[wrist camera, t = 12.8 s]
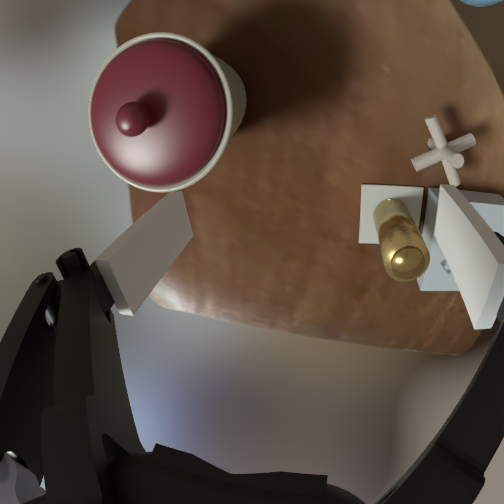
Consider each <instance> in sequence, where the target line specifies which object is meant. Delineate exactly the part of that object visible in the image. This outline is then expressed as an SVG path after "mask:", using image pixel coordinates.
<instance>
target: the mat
mask: <svg viewBox="0 0 504 504" xmlns="http://www.w3.org/2000/svg"><path fill="white" fill-rule="evenodd" d="M423 189H424V188H423V187H416V186H399V185H378V184H361V212H360V231H359V243H377V244H379V240H378V236H377V232H376V228H375V224H374V220H373V212H374V210H375V208H376V206H377V205H378V204H379V203H380V202H381V201H383V200H385V199H389V198H395V199H398V200H401V201H402V202H403V203H404V204H405V205H406V206H407V208H408V210H409V212H410V214H411V216H412V218H413V220H414V222H415V224H416V226H417V228H419V222H420V214H421V207H422V198H423Z"/></svg>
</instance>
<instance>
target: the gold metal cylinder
mask: <svg viewBox="0 0 504 504" xmlns="http://www.w3.org/2000/svg"><path fill="white" fill-rule="evenodd" d="M373 220H374V224H375V228H376V232H377V236H378V240H379V244H380V248H381V253H382V257H383V262H384V266H385V270H386V272H387V274H388V275H389V276H390V277H391V278H393V279H394V280H397V281H401V282H407V281H412V280H415V279H417V278H418V277H420V276H421V275H422V274H423V273H424V272H425V271H426V270H427V268H428V266H429V263H430V253H429V251H428V248H427V246H426V244H425V242H424V240H423V238H422V236H421V234H420V232H419V230H418V228H417V226H416V224H415V222H414V220H413V218H412V216H411V214H410V212H409V210H408V208H407V206H406V205H405V204H404V203H403V202H402V201H401V200H398V199H395V198H389V199H385V200H383V201H381V202H380V203H379V204H378V205H377V206H376V208H375V210H374V212H373Z"/></svg>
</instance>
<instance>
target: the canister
mask: <svg viewBox="0 0 504 504" xmlns="http://www.w3.org/2000/svg"><path fill="white" fill-rule="evenodd" d="M246 101H247V98H246V91H245V88H244V84H243V83H242V80H241V78H240V77H239V76H238V73H237V72H236V71H234V70H233V68H232V67H231V66H230V65H228V64H227V63H226V62H225V61H223V60H221V59H220V58H218V57H216V56H214V55H212V54H211V53H210V52H209V51H208V50H207V49H206V48H205V47H203V46H202V45H201V44H199V43H198V42H196V41H194V40H192V39H190V38H188V37H185V36H183V35H179V34H175V33H168V32H155V33H148V34H144V35H141V36H138V37H135V38H133V39H131V40H129V41H127V42H126V43H124V44H123V45H121V46H120V47H119V48H117V49H116V50H115V51H114V52H113V53H112V54H111V55H110V56H109V57H108V58H107V60H106V61H105V62H104V63H103V65H102V66H101V68H100V70H99V72H98V73H97V75H96V78H95V80H94V82H93V85H92V89H91V92H90V97H89V105H88V119H89V127H90V132H91V135H92V139H93V142H94V144H95V147H96V149H97V151H98V153H99V154H100V156H101V158H102V159H103V160H104V162H105V163H106V165H107V166H108V167H109V168H110V169H111V170H112V171H113V172H114V173H115V174H116V175H117V176H118V177H120V178H121V179H122V180H124V181H125V182H127V183H128V184H130V185H132V186H134V187H137V188H139V189H143V190H146V191H151V192H172V191H177V190H180V189H183V188H186V187H188V186H190V185H192V184H194V183H196V182H197V181H199V180H200V179H202V178H203V177H204V176H205V175H206V174H208V173H209V172H210V171H211V170H212V168H213V167H214V166H215V165H216V164H217V162H218V161H219V159H220V158H221V156H222V154H223V152H224V150H225V148H226V146H227V144H228V141H229V139H230V138H231V137H232V136H233V134H234V133H235V132H236V130H237V129H238V127H239V125H240V124H241V122H242V119H243V116H244V115H245V109H246Z"/></svg>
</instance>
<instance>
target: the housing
mask: <svg viewBox="0 0 504 504" xmlns="http://www.w3.org/2000/svg"><path fill="white" fill-rule="evenodd" d="M439 190H440V188H431V187H429V189H428V198H427V206H426V213H425V220H424V227H423V233H422V238H423V240H424V242H425V244H426V246H427V248H428V251H429V253H430V263H429V266H428V268H427V270H426V271H425V272H424V273H423V274H422V275H421V276H420V277H418V278H417V281H418V284H419V288H420V291H460V290H459V288H458V285H457V283H456V281H455V278H454V276H453V274H452V272H451V269H450V267H449V265H448V263H447V261H446V258H445V256H444V254H443V252H442V250H441V248H440V246H439V244H438V242H437V240H436V238H435V236H434V232H435V225H436V217H437V209H438V200H439ZM459 191H460V192H461V193H462V195H463V196H464V197H465V198H466V199H467V200H468V201H469V203H470V204H471V205H472V206H473V207H474V208H475V210H476V211H477V212H478V213H479V214H480V216H481V217H482V218H483V219H484V220H485V222H486V223H487V224H488V225H489V227H490V228H491V229H492V231H493V232H498V233H499V234H501V235H502V236H503V237H504V198H503V197H501V196H500V195H499V194H493V193H484V192H475V191H465V190H459Z"/></svg>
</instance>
